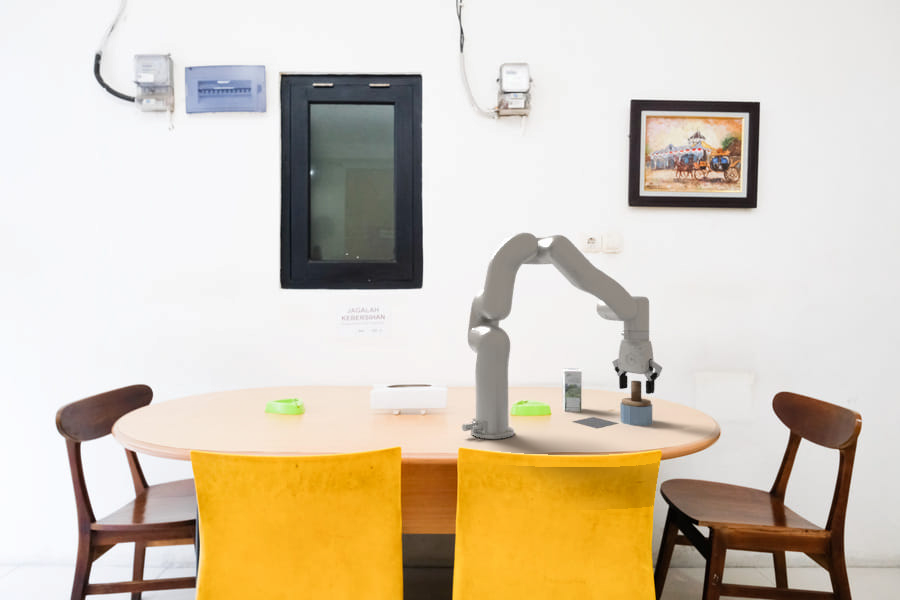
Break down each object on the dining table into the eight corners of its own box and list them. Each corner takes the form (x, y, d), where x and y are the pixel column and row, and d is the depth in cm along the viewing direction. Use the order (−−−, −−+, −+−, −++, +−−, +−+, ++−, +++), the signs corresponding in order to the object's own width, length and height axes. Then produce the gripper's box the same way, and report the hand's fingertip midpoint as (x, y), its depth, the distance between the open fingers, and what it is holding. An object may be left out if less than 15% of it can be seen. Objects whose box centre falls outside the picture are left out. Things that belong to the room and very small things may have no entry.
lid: (639, 408, 159) (639, 385, 159) (615, 403, 166) (615, 381, 166) (656, 404, 164) (656, 381, 164) (633, 399, 171) (633, 378, 171)
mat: (597, 429, 158) (597, 428, 158) (571, 422, 166) (571, 421, 166) (618, 424, 164) (618, 423, 164) (593, 418, 172) (593, 416, 172)
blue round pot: (639, 428, 159) (639, 408, 159) (614, 422, 167) (614, 403, 166) (658, 423, 164) (658, 404, 164) (633, 417, 172) (633, 399, 172)
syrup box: (579, 409, 185) (579, 367, 184) (581, 413, 179) (581, 370, 179) (562, 408, 185) (562, 367, 185) (564, 412, 179) (564, 370, 179)
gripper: (605, 334, 170) (606, 388, 170) (653, 338, 156) (653, 396, 156) (621, 333, 174) (621, 385, 174) (668, 337, 160) (668, 393, 160)
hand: (636, 390), depth 165 cm, fingers open, 9 cm apart
